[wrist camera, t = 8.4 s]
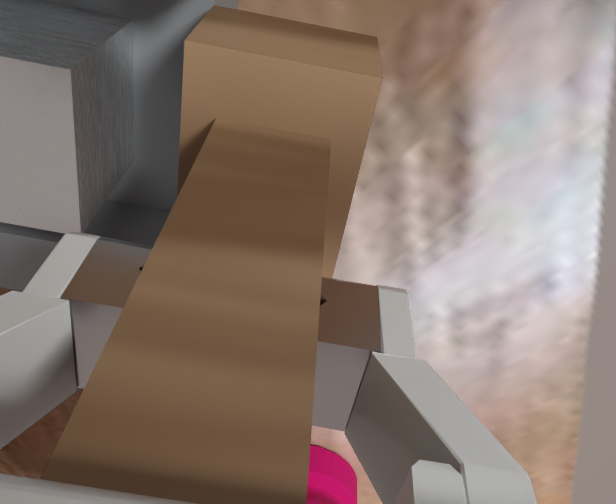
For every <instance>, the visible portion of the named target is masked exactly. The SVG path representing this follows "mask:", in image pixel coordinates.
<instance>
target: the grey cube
mask: <svg viewBox="0 0 616 504" xmlns="http://www.w3.org/2000/svg"><path fill="white" fill-rule="evenodd" d="M133 57H134V19H131V18H126V17H121V16H116V15H111V14H106V13H101V12H96V11H91V10H86V9H81V8H76V7H70V6H65V5H60V4H55V3H50V2H45V1H40V0H0V222H3V223H9V224H14V225H20V226H26V227H31V228H37V229H42V230H48V231H54V232H59V233H65V234H66V233H68V232H70V231H75V232H80V233H84V231H85V230H86V229H87V227H88V226H89V224H90V223H91V221H92V220H93V218H94V217H95V215H96V214H97V213H98V211H99V210H100V208H101V207H102V205H103V204H104V202H105V201H106V200H107V198H108V197H109V195H110V194H111V192H112V191H113V189H114V188H115V186H116V185H117V184H118V182H119V181H120V179H121V178H122V176H123V175H124V173H125V172H126V171H127V169H128V168H129V166H130V165H131V163H132V162H133Z"/></svg>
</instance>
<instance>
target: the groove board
mask: <svg viewBox="0 0 616 504" xmlns="http://www.w3.org/2000/svg"><path fill="white" fill-rule="evenodd" d="M40 1H45V2H50V3H55V4H60V5H65V6H70V7H76V8H81V9H86V10H91V11H96V12H101V13H106V14H111V15H116V16H121V17H126V18H131V19H134V57H133V162H132V163H131V165H130V166H129V168H128V169H127V171H126V172H125V173H124V175H123V176H122V178H121V179H120V181H119V182H118V184H117V185H116V186H115V188H114V189H113V191H112V192H111V194H110V195H109V197H108V198H107V200H106V201H105V202H104V204H103V205H102V207H101V208H100V210H99V211H98V213H97V214H96V215H95V217H94V218H93V220H92V221H91V223H90V224H89V226H88V227H87V229H86V230H85V231H84V233H86V234H91V235H96V236H100V237H108V238H113V239H118V240H123V241H128V242H133V243H138V244H143V245H148V246H154V244H155V242H156V240H157V238H158V236H159V234H160V232H161V230H162V228H163V226H164V224H165V222H166V220H167V218H168V216H169V213H170V211H171V209H172V207H173V205H174V203H175V201H176V199H177V188H178V167H179V146H180V125H181V104H182V83H183V61H184V40H185V39H186V38H187V37H188V35H189V34H190V33H191V32H192V31H193V29H194V28H195V27H196V26H197V25H198V23H199V22H200V21H201V20H202V19H203V17H204V16H205V15H206V14H207V13H208V11H209V10H210V9H211V8H212V7H213V5H216V6H221V7H226V8H231V9H236V10H237V3H238V0H40ZM64 235H65V233H59V232H54V231H48V230H42V229H37V228H31V227H26V226H20V225H14V224H9V223H3V222H0V288H6V289H12V290H18V291H23V290H24V288H25V287H26V286H27V284H28V283H29V282H30V280H31V279H32V278H33V276H34V275H35V274H36V272H37V271H38V269H39V268H40V267H41V265H42V264H43V263H44V261H45V260H46V259H47V257H48V256H49V255H50V253H51V252H52V250H53V249H54V248H55V246H56V245H57V244H58V242H59V241H60V240H61V238H62V237H63V236H64Z"/></svg>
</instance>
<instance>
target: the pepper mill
mask: <svg viewBox="0 0 616 504" xmlns="http://www.w3.org/2000/svg"><path fill="white" fill-rule="evenodd" d="M306 504H357V477H356V474H355V472H354V470H353V469H352V467H351V466H350V464H349V463H348V462H347V461H346V460H344V459H343V458H342V457H341V456H339V455H338V454H337V453H335V452H332V451H330V450H328V449H325V448H323V447H320V446H315V445H310V457H309V472H308V487H307V501H306Z"/></svg>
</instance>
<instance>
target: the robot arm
mask: <svg viewBox="0 0 616 504" xmlns="http://www.w3.org/2000/svg"><path fill="white" fill-rule="evenodd" d="M152 248H153V246H148V245H143V244H138V243H133V242H128V241H123V240H118V239H113V238H108V237H100V236H96V235H91V234H86V233H80V232H75V231H70V232H68V233H66V234H65V235H64V236H63V237H62V238H61V240H60V241H59V242H58V244H57V245H56V246H55V248H54V249H53V250H52V252H51V253H50V255H49V256H48V257H47V259H46V260H45V261H44V263H43V264H42V265H41V267H40V268H39V269H38V271H37V272H36V274H35V275H34V276H33V278H32V279H31V280H30V282H29V283H28V284H27V286H26V287H25V288H24V290H23V291H22V292H18V291H10V292H8V293H6V294H3V295H1V296H0V449H1V448H3V447H4V446H5V445H6V444H8V443H9V442H10V441H12V440H13V439H14V438H16V437H17V436H18V435H20V434H21V433H22V432H24V431H25V430H26V429H28V428H29V427H30V426H31V425H33V424H34V423H35V422H37V421H38V420H39V419H41V418H42V417H43V416H45V415H46V414H47V413H49V412H50V411H51V410H52V409H54V408H55V407H56V406H58V405H59V404H60V403H62V402H63V401H64V400H66V399H67V398H68V397H70V396H71V395H72V394H73V393H75V392H76V391H77V388H82V389H84V388H85V386H86V384H87V382H88V379H89V377H90V375H91V373H92V371H93V369H94V367H95V365H96V363H97V361H98V359H99V357H100V355H101V353H102V351H103V349H104V347H105V345H106V343H107V341H108V338H109V336H110V334H111V332H112V330H113V328H114V326H115V324H116V322H117V320H118V318H119V316H120V314H121V312H122V310H123V308H124V306H125V304H126V302H127V300H128V297H129V295H130V293H131V291H132V289H133V287H134V285H135V283H136V281H137V279H138V277H139V275H140V273H141V271H142V269H143V267H144V265H145V263H146V261H147V259H148V257H149V254H150V252H151V250H152ZM312 425H314V426H319V427H325V428H330V429H335V430H340V431H345V435H346V437H347V439H348V441H349V443H350V444H351V446H352V448H353V450H354V452H355V453H356V455H357V457H358V459H359V461H360V463H361V464H362V466H363V468H364V470H365V472H366V474H367V475H368V477H369V479H370V481H371V483H372V484H373V486H374V488H375V490H376V492H377V494H378V495H379V497H380V499H381V501H382V503H383V504H537V502H536V499H535V495H534V491H533V488H532V484H531V481H530V477H529V475H528V474H527V473H526V471H525V470H524V469H523V468H522V467H521V466H520V465H519V464H518V463H517V461H516V460H515V459H514V458H513V457H512V456H511V455H510V454H509V453H508V451H507V450H506V449H505V448H504V447H503V446H502V445H501V444H500V443H499V441H498V440H497V439H496V438H495V437H494V436H493V435H492V434H491V433H490V431H489V430H488V429H487V428H486V427H485V426H484V425H483V424H482V423H481V421H480V420H479V419H478V418H477V417H476V416H475V415H474V414H473V413H472V411H471V410H470V409H469V408H468V407H467V406H466V405H465V404H464V403H463V401H462V400H461V399H460V398H459V397H458V396H457V395H456V394H455V393H454V391H453V390H452V389H451V388H450V387H449V386H448V385H447V384H446V383H445V381H444V380H443V379H442V378H441V377H440V376H439V375H438V374H437V373H436V371H435V370H434V369H433V368H432V367H431V366H430V365H429V364H428V363H427V362H426V361H424V360H418V359H417V354H416V347H415V339H414V332H413V324H412V316H411V309H410V301H409V294H408V292H407V291H406V289H400V288H393V287H387V286H380V285H376V286H373V285H367V284H362V283H356V282H350V281H344V280H338V279H332V278H327V277H322V282H321V297H320V311H319V326H318V341H317V355H316V370H315V384H314V399H313V414H312ZM0 504H196V503H190V502H183V501H177V500H170V499H164V498H157V497H151V496H145V495H138V494H132V493H125V492H119V491H112V490H106V489H99V488H93V487H87V486H80V485H74V484H67V483H61V482H54V481H48V480H41V479H35V478H28V477H22V476H16V475H9V474H3V473H0Z"/></svg>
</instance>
